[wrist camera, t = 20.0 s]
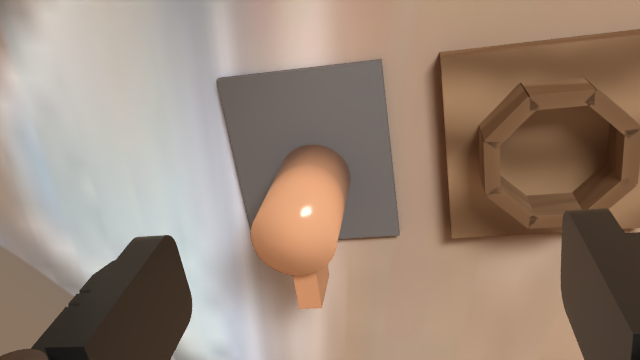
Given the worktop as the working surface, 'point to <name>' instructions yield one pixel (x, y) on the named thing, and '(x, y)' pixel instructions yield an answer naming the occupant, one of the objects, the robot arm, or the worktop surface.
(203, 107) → the worktop surface
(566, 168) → the walnut holder
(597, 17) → the worktop surface
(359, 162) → the charcoal mat
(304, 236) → the peach ice lolly
